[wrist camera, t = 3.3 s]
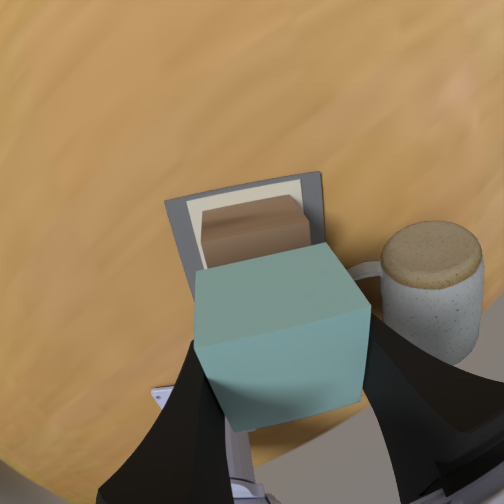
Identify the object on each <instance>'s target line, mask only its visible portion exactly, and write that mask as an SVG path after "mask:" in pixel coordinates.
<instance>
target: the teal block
mask: <svg viewBox="0 0 504 504" xmlns="http://www.w3.org/2000/svg"><path fill="white" fill-rule="evenodd" d="M370 317H371V305H370V303H369V302H368V300H367V299H366V297H365V296H364V295H363V293H362V292H361V290H360V289H359V287H358V286H357V285H356V283H355V282H354V280H353V279H352V278H351V276H350V275H349V273H348V272H347V271H346V269H345V268H344V266H343V265H342V264H341V262H340V261H339V259H338V258H337V257H336V255H335V254H334V253H333V251H332V250H331V248H330V247H329V246H328V244H327V243H326V242H325V243H321V244H317V245H312V246H308V247H303V248H299V249H294V250H290V251H285V252H281V253H276V254H272V255H267V256H263V257H258V258H254V259H249V260H245V261H240V262H236V263H231V264H227V265H222V266H218V267H213V268H209V269H204V270H200V271H196V280H195V311H194V350H195V352H196V354H197V357H198V359H199V361H200V363H201V366H202V368H203V370H204V372H205V374H206V377H207V379H208V381H209V383H210V385H211V387H212V389H213V391H214V394H215V396H216V398H217V400H218V402H219V404H220V406H221V408H222V410H223V412H224V414H225V416H226V418H227V420H228V422H229V424H230V426H231V428H232V430H233V432H234V433H236V432H241V431H247V430H252V429H258V428H263V427H268V426H272V425H277V424H281V423H286V422H290V421H294V420H298V419H302V418H306V417H310V416H314V415H317V414H321V413H325V412H328V411H332V410H335V409H338V408H341V407H345V406H348V405H351V404H354V403H357V402H360V400H361V394H362V387H363V380H364V373H365V365H366V357H367V348H368V339H369V328H370Z"/></svg>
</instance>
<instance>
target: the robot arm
mask: <svg viewBox="0 0 504 504" xmlns="http://www.w3.org/2000/svg"><path fill="white" fill-rule="evenodd" d="M362 388H363V390H364V392H365V394H366V396H367V398H368V400H369V402H370V404H371V406H372V408H373V410H374V413H375V415H376V417H377V420H378V422H379V425H380V428H381V431H382V434H383V436H384V440H385V443H386V446H387V449H388V452H389V455H390V459H391V463H392V466H393V470H394V474H395V478H396V482H397V487H398V492H399V497H400V502H401V504H446V503H447V504H504V383H503V382H498V381H494V380H490V379H486V378H483V377H480V376H477V375H474V374H471V373H469V372H466V371H464V370H461V369H459V368H457V367H454V366H452V365H450V364H448V363H446V362H443V361H441V360H440V359H438V358H436V357H434V356H432V355H430V354H428V353H427V352H425V351H423V350H422V349H420V348H419V347H417V346H416V345H414V344H412V343H411V342H409V341H408V340H407V339H405V338H404V337H402V336H401V335H400V334H398V333H397V332H395V331H394V330H393V329H391V328H390V327H389V326H387V325H386V324H385V323H384V322H382V321H381V320H380V319H379V318H377V317H376V316H375V315H374V314H372V313H371V317H370V328H369V339H368V348H367V357H366V365H365V373H364V380H363V387H362ZM151 394H152V396H153V398H154V399H155V401H156V402H157V403H158V405H159V406H160V408H161V409H162V411H161V413H160V415H159V416H158V418H157V420H156V421H155V423H154V424H153V426H152V428H151V429H150V431H149V432H148V433H147V435H146V436H145V438H144V439H143V441H142V442H141V443H140V445H139V446H138V447H137V449H136V450H135V451H134V452H133V453H132V455H131V456H130V457H129V458H128V459H127V460H126V462H125V463H124V464H123V465H122V466H121V467H120V468H119V469H118V470H117V471H116V472H115V473H114V474H113V475H112V476H111V477H110V478H109V479H108V480H107V481H106V482H105V483H104V484H103V485H102V486H101V487H100V488H99V489H98V493H97V497H96V504H281V503H280V502H279V501H278V500H277V499H276V498H275V497H274V496H273V495H272V494H269V493H265V492H264V486H263V484H256V482H255V476H254V469H253V463H252V456H251V450H250V443H249V436H248V432H252V431H255V430H256V429H252V430H247V431H241V432H236V433H234V432H233V430H232V428H231V426H230V424H229V422H228V420H227V418H226V416H225V414H224V412H223V410H222V408H221V406H220V404H219V402H218V400H217V398H216V396H215V394H214V391H213V389H212V387H211V385H210V383H209V381H208V379H207V377H206V374H205V372H204V370H203V368H202V366H201V363H200V361H199V359H198V357H197V354H196V352H195V350H194V339H193V340H192V341H191V343H190V347H189V350H188V353H187V355H186V358H185V361H184V364H183V366H182V369H181V371H180V373H179V376H178V378H177V380H176V383H175V385H174V386H170V387H161V388H154V389H152V391H151Z"/></svg>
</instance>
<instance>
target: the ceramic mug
mask: <svg viewBox="0 0 504 504" xmlns="http://www.w3.org/2000/svg"><path fill="white" fill-rule="evenodd" d="M346 271H347V272H348V273H349V275H350V276H351V278H352V279H353V280H354V281H356V280H360V279H364V278H367V277H370V278H371V277H375V276H380V283H381V295H382V306H383V307H382V312H383V320H382V322H384V323H385V324H386V325H387V326H389V327H390V328H391V329H393V330H394V331H395V332H397V333H398V334H400V335H401V336H402V337H404V338H405V339H407V340H408V341H409V342H411V343H412V344H414V345H416V346H417V347H419V348H420V349H422V350H423V351H425V352H427V353H428V354H430V355H432V356H434V357H436V358H438V359H440V360H441V361H443V362H446V363H448V364H450V365H455V364H457V363H459V362H460V361H462V360H463V359H464V358H465V357H466V356H467V355H468V354H469V353H470V352H471V351H472V349H473V348H474V346H475V344H476V342H477V339H478V336H479V327H480V319H481V310H482V299H483V286H484V261H483V255H482V249H481V246H480V244H479V242H478V240H477V238H476V237H475V236H474V235H473V234H472V233H471V232H470V231H468V230H467V229H466V228H464V227H462V226H460V225H457V224H455V223H451V222H446V221H425V222H420V223H416V224H413V225H410V226H408V227H406V228H404V229H402V230H400V231H399V232H397V233H396V234H395V235H394V236H392V237H391V238H390V239H389V241H388V242H387V243H386V244H385V246H384V248H383V251H382V255H381V259H380V260H379V261H368V262H362V263H360V264H358V265H354V266H353V267H351V268H348V269H346Z"/></svg>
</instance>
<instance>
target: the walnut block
mask: <svg viewBox="0 0 504 504" xmlns="http://www.w3.org/2000/svg"><path fill="white" fill-rule="evenodd" d="M201 246H202V250H203V254H204V257H205V261H206V265H207V269H209V268H213V267H218V266H222V265H227V264H231V263H236V262H240V261H245V260H249V259H254V258H258V257H263V256H267V255H272V254H276V253H281V252H285V251H290V250H294V249H299V248H303V247H308V246H311V240H310V228H309V221H308V219H307V218H306V216H305V215H304V214H303V212H302V211H301V210H300V208H299V207H298V206H297V204H296V203H295V202H294V200H293V199H292V198H291V196H290V195H289V194H288V195H282V196H277V197H271V198H266V199H261V200H255V201H250V202H245V203H240V204H235V205H230V206H225V207H220V208H215V209H210V210H205V211H202V225H201Z"/></svg>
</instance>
